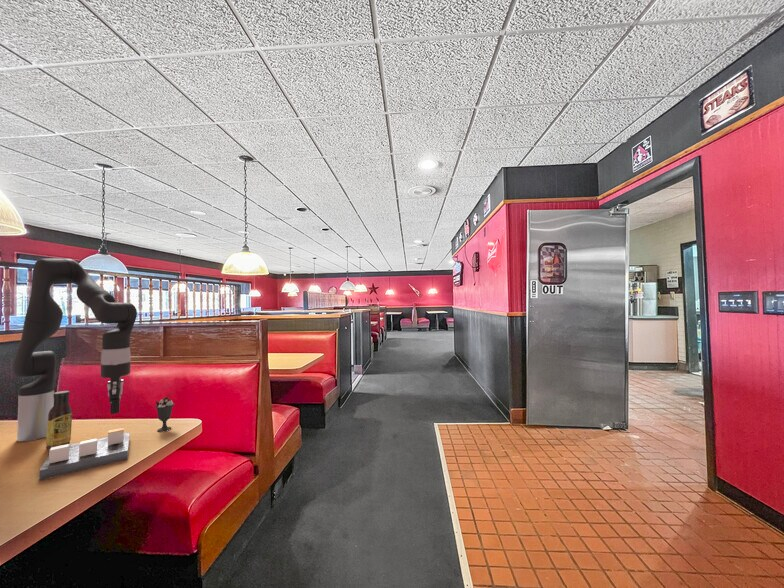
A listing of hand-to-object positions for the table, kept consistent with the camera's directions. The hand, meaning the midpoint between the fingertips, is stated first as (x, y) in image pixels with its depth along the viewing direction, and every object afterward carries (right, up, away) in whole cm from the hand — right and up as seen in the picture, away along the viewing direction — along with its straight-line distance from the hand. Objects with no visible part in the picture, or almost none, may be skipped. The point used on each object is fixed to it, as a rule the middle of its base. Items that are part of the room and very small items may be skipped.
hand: (115, 413), depth 104 cm
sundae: (-1, -16, +24) cm, 29 cm away
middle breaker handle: (-6, -12, -3) cm, 14 cm away
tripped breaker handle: (-4, -12, +5) cm, 14 cm away
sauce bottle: (-29, -16, +9) cm, 34 cm away
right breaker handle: (-11, -12, -7) cm, 18 cm away
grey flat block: (-10, -16, +1) cm, 18 cm away
